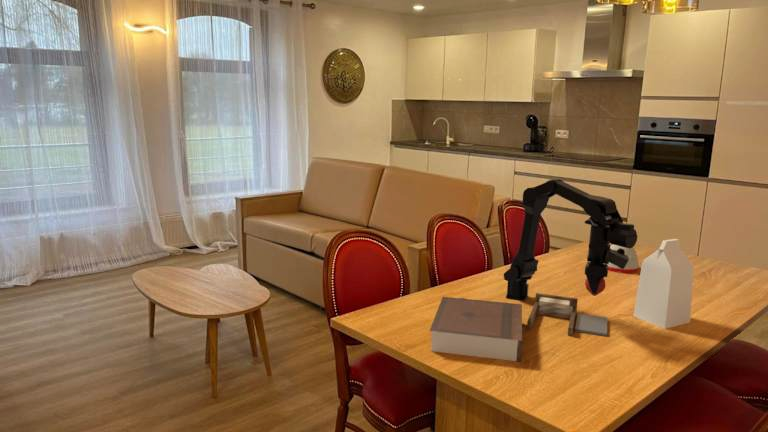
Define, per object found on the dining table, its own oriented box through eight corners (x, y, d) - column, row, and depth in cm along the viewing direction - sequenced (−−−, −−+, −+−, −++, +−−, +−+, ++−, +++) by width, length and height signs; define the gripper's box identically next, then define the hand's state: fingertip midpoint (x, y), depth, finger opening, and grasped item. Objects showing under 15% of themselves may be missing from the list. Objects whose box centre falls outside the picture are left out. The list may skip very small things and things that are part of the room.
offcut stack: (536, 313, 186) (537, 300, 185) (537, 309, 190) (538, 296, 189) (571, 319, 182) (572, 305, 182) (572, 314, 186) (573, 301, 186)
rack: (526, 328, 174) (528, 313, 173) (535, 307, 192) (536, 292, 191) (571, 336, 169) (573, 319, 168) (576, 313, 188) (577, 298, 187)
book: (520, 324, 179) (521, 304, 178) (520, 364, 152) (522, 340, 151) (441, 316, 184) (442, 296, 183) (428, 353, 157) (429, 330, 156)
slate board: (574, 331, 173) (574, 328, 173) (577, 315, 186) (577, 313, 186) (606, 336, 170) (606, 333, 170) (607, 319, 183) (607, 317, 182)
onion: (580, 292, 178) (583, 267, 177) (598, 292, 179) (601, 267, 177) (588, 298, 173) (591, 273, 171) (607, 298, 173) (610, 273, 172)
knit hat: (643, 273, 233) (648, 237, 230) (609, 273, 233) (613, 236, 230) (629, 264, 246) (633, 229, 243) (597, 263, 246) (600, 229, 243)
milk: (664, 328, 176) (675, 246, 171) (633, 316, 186) (642, 237, 181) (690, 322, 182) (700, 242, 177) (658, 310, 192) (667, 234, 187)
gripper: (629, 251, 161) (623, 304, 164) (628, 237, 178) (622, 285, 181) (587, 246, 165) (582, 298, 168) (590, 233, 182) (585, 280, 185)
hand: (594, 290), depth 175 cm, fingers closed on onion, 6 cm apart
